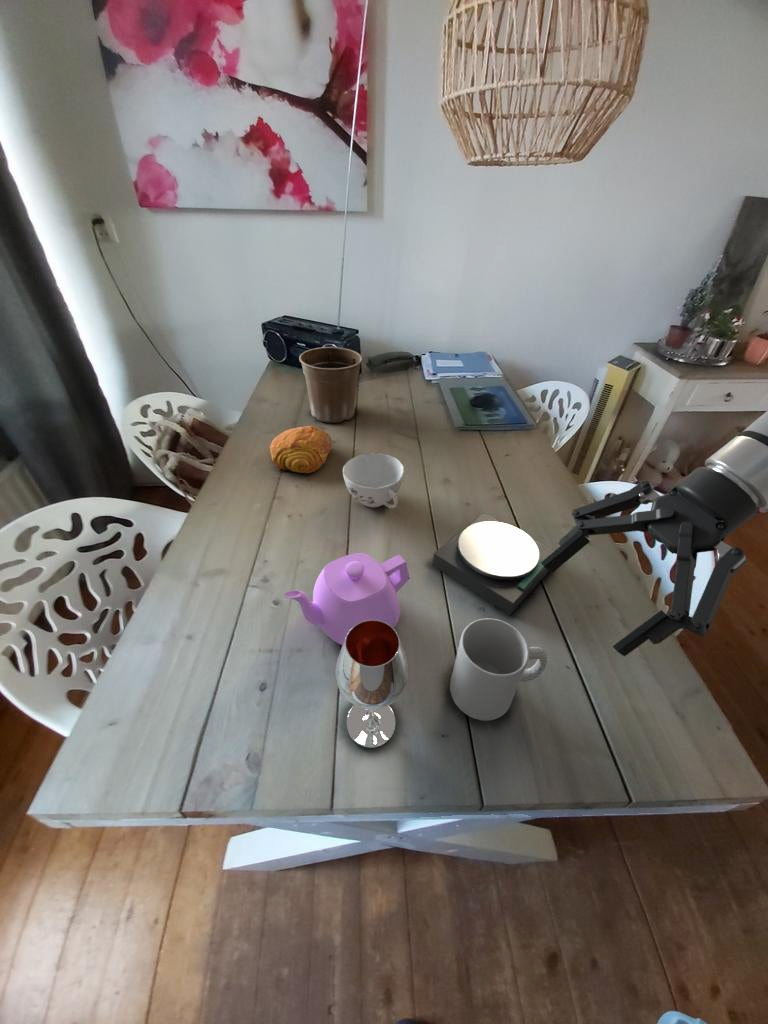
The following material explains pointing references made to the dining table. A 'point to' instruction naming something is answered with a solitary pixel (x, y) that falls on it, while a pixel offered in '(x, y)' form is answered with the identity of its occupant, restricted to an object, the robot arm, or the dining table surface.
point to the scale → (490, 589)
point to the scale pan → (498, 550)
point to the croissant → (301, 449)
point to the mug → (492, 668)
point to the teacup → (374, 479)
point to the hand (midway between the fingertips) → (579, 606)
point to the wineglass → (371, 680)
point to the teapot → (354, 594)
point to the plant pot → (331, 382)
